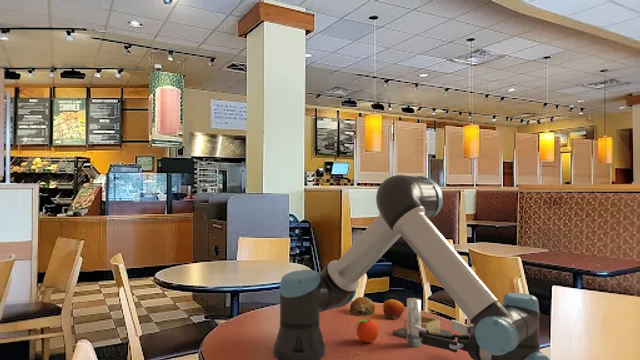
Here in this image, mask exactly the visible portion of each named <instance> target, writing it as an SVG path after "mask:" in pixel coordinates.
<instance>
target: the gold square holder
mask: <svg viewBox="0 0 640 360" xmlns="http://www.w3.org/2000/svg"><path fill="white" fill-rule="evenodd" d="M403 323H404V324H403V327H400V328H397V329H395V330H392V335H395V336H399V337H402V338H406V339H407V317H406V318H404V319H403ZM421 327H422V328H424V329H426V330H429V331H431V333H436V334H443V335H450V336H452V335H453V333H452V331H450V330H446V329H442V328H441V319H440V318H435V317H430V316H427V315H422V314H421ZM421 343H422V338H421Z"/></svg>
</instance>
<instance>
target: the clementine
mask: <svg viewBox="0 0 640 360" xmlns="http://www.w3.org/2000/svg"><path fill="white" fill-rule="evenodd" d="M356 326H357V327H356ZM355 327H356V335H357V338H359V340H360V341H362V342H363V343H365V344H366V343H372V342H374V341H375V340H376V339H377V338H378V335H379V328H378V325H377V324H376V322H374V321H373V320H371V319H362V320H359V321H358V322H356V323H355V325H354V327H353V328H355Z"/></svg>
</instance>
